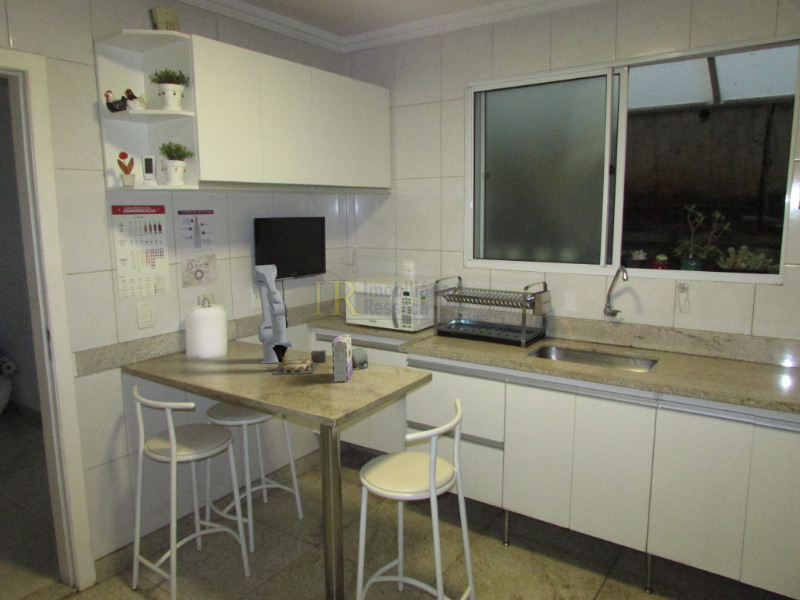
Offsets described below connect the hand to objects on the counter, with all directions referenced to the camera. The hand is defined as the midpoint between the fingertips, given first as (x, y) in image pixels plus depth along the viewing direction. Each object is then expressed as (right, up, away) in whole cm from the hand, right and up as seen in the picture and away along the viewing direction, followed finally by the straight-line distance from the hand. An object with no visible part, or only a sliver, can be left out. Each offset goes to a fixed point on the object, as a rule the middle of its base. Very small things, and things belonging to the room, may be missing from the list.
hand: (281, 362), depth 235 cm
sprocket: (+6, -3, +2) cm, 7 cm away
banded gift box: (+14, -1, +13) cm, 19 cm away
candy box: (+28, -5, -13) cm, 31 cm away
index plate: (+6, -3, +2) cm, 7 cm away
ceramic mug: (+33, -2, +3) cm, 33 cm away
